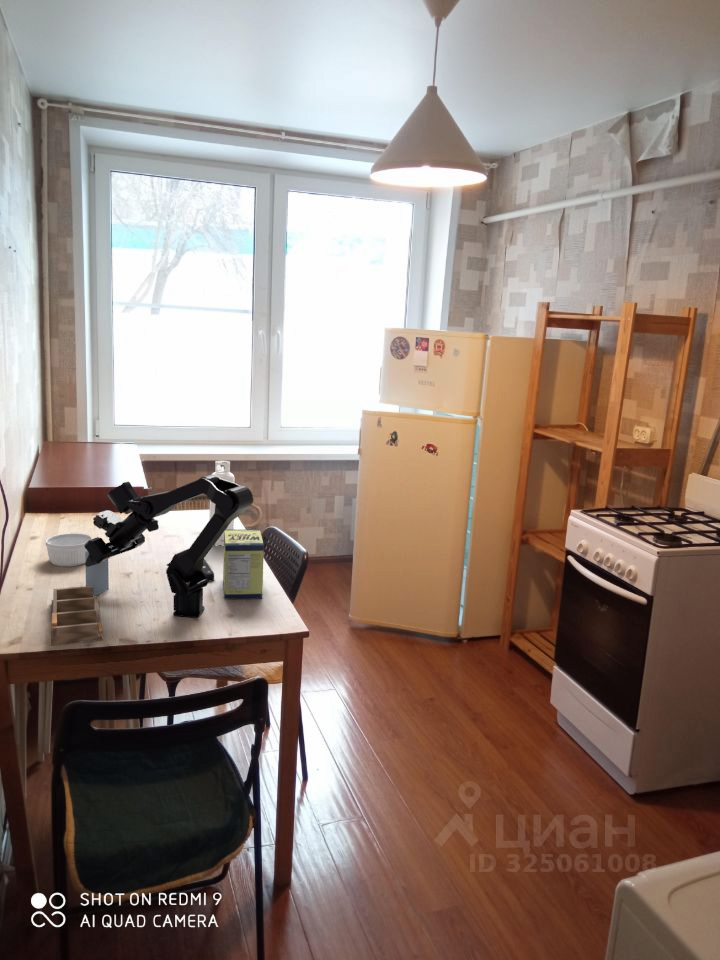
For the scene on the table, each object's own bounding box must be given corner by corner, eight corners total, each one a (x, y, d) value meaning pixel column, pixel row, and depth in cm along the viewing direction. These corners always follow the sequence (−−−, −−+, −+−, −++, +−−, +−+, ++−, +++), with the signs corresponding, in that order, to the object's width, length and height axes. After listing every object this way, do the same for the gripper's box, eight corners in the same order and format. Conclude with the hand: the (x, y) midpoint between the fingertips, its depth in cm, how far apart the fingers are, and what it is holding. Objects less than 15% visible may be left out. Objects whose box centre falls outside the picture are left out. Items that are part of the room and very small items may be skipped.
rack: (97, 599, 187) (96, 583, 186) (102, 639, 164) (102, 621, 163) (51, 603, 182) (51, 586, 181) (50, 645, 160) (50, 626, 159)
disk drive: (215, 582, 206) (203, 565, 219) (215, 573, 205) (203, 557, 218) (178, 586, 202) (169, 568, 215) (178, 576, 201) (169, 559, 214)
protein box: (258, 579, 209) (260, 528, 206) (262, 599, 194) (264, 544, 191) (222, 580, 207) (223, 528, 203) (224, 600, 192) (225, 545, 189)
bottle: (236, 540, 244) (238, 460, 239) (228, 547, 237) (230, 465, 231) (214, 538, 246) (215, 458, 240) (205, 544, 238) (206, 462, 232)
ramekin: (41, 568, 207) (41, 545, 206) (51, 554, 220) (50, 532, 218) (89, 568, 210) (89, 545, 208) (96, 554, 222) (96, 532, 221)
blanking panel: (108, 589, 195) (108, 547, 192) (95, 595, 189) (94, 552, 187) (99, 587, 195) (98, 545, 193) (86, 593, 190) (85, 551, 188)
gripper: (135, 495, 194) (102, 528, 200) (90, 510, 177) (55, 546, 182) (160, 527, 193) (126, 559, 199) (116, 545, 176) (80, 580, 182)
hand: (97, 560), depth 191 cm, fingers open, 9 cm apart
